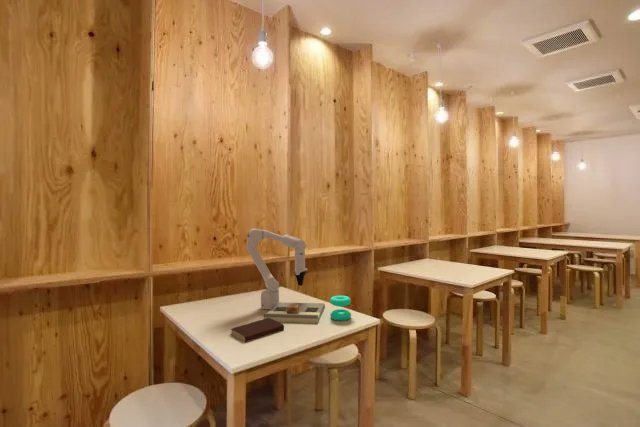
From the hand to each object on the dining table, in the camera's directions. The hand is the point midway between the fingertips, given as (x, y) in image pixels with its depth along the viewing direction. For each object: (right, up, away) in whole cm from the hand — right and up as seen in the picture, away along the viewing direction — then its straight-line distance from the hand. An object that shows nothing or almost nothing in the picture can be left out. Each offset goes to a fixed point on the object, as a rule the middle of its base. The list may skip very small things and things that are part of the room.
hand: (300, 285), depth 186 cm
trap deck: (-1, -11, -17) cm, 20 cm away
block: (-2, -9, -24) cm, 25 cm away
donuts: (+21, -11, -24) cm, 34 cm away
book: (-16, -12, -41) cm, 46 cm away
